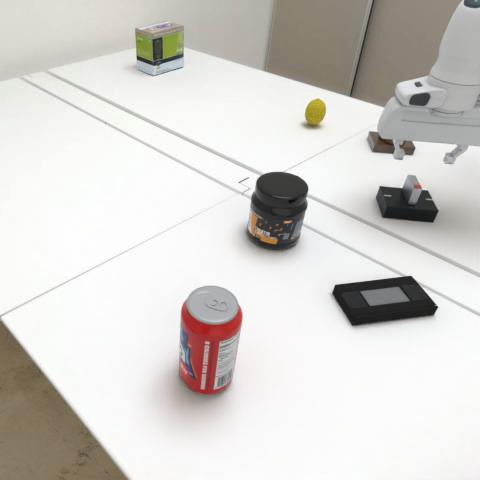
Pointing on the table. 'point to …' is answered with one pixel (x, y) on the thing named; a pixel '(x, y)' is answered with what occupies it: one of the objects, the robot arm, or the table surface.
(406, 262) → the table surface
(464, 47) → the robot arm
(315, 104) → the lemon
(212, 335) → the soda can
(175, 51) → the tea box
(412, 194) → the grey rocker switch
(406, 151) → the button block
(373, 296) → the vhs tape
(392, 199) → the plate
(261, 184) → the supplement container
